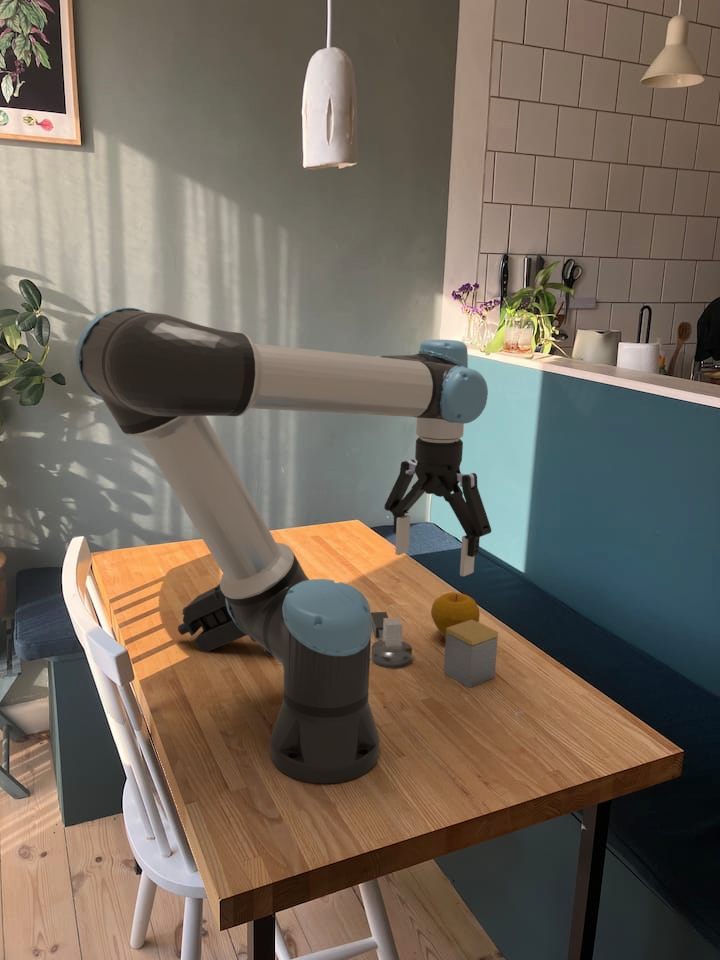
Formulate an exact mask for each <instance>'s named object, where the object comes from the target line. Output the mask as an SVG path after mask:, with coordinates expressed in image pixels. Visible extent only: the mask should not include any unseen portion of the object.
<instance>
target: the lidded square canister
mask: <svg viewBox="0 0 720 960" xmlns="http://www.w3.org/2000/svg"><path fill="white" fill-rule="evenodd" d="M498 637H499V631H497V630H495V629H493V628H490V626H486V625H484V624H482V623H480V622H476V621H474V620H469V621H466V622H463V623H460V624H456V625H453V626H450V627H447V628H446V638H445V641H444V642H445V643H444V644H445V645H444V659H443V661H444V662H443V674H444V675H446V676H448V677H449V678H451V679H454V680H455V681H457V683H460V684H462V685H464V686H465V687H467V688H468V689H469V688H473V687H475V686H477V685H480V684H482V683H484V682H487V681H490V680H492V679H495V677H496V665H497V651H498V640H499V639H498Z"/></svg>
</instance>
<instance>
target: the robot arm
mask: <svg viewBox="0 0 720 960" xmlns="http://www.w3.org/2000/svg"><path fill="white" fill-rule="evenodd" d="M468 356H469V355H468V347H467V345H466V344H465V343H464V342H463V341H460V340H454V339H427V340H426V339H425V340H422V341H421V342H420V344H419V351H418V353H416V354H408V355H407V354H404V355H403V354H402V355H401V354H399V355H379V354H376V355H374V356H373V355H362V354H356V353H355V354H354V353H345V352H338V351H337V352H335V351H327V350H326V351H325V350H320V349H319V350H317V349H310V348H298V347H291V346H282V345H272V344H264V343H263V344H262V343H256V342H255V343H254V342H253V341H252V339H251V337H250V336H249V335H247V334H245V333H243V332H242V333H241V332H234V331H228V330H222V329H217V328H213V327H209V326H205V325H201V324H198V323H195V322H192V321H188V320H185V319H182V318H178V317H176V316H172V315H169V314H165V313H157V312H147V311H146V310H143V309H139V308H135V307H121V308H116V309H112V310H107V311H105V312H103V313H101V314H99V315H98V316H96V317H94V318H93V319H92V320H91V321H89V323H88V324H86V326H85V327H84V329H83V330H82V332H81V334H80V336H79V337H78V341H77V343H76V348H75V362H76V366H77V367H76V368H77V370H78V373H79V376H80V377H81V379H82V380H83V382H84V384H85V385H86V386H87V388H88V389H89V390H90V391H91V392H93V393H94V394H96V395H97V396H98V397H100V398H101V399H102V401H103V403H104V404H105V406H106V407H107V409H108V411H109V412H110V414H111V415H112V417H113V418H114V421H115V422H116V423H117V425H118V427H119V428H120V429H121V431H122V433H123V434H124V435H125V436H127V437H132V438H137V439H141V440H142V442H143V444H144V445H145V447H146V449H147V450H148V452H149V453H150V455H151V457H152V458H153V460H154V462H155V463H156V465H157V467H158V469H159V470H160V472H161V473H162V475H163V477H164V478H165V480H166V481H167V483H168V485H169V486H170V489H171V490H172V492H173V493H174V495H175V496H176V498H177V500H178V501H179V503H180V505H181V506H182V508H183V510H184V511H185V513H186V515H187V516H188V518H189V519H190V521H191V522H192V524H193V526H194V528H195V529H196V531H197V533H198V534H199V536H200V538H201V539H202V540H203V542H204V544H205V546H206V547H207V549H208V551H209V552H210V554H211V557H213V559H214V560H215V562H216V564H217V565H218V567H219V568H220V569H219V570H221V572H222V575H221V578H220V581H219V584H220V589H221V591H222V593H223V594H224V596H225V600H226V606H227V610H228V612H229V614H230V616H231V618H232V620H233V621H234V623H235V624H236V625H237V627H238V628H239V629H240V630H241V631H242V632H244V633H245V634H246V635H247V637H249V638H250V637H251V638H253V639H254V640H255V641H256V642H255V643H258V645H260V646H261V647H262V648H264V650H265V649H266V650H267V651H268V652H270V653H271V654H272V655H271V656H272V657H274V658H275V659H277V661H278V662H280V663H281V665H282V666H283V698H282V699H283V700H282V703H281V706H280V709H279V712H278V715H277V718H276V720H275V723H274V726H273V729H272V732H271V735H270V758H271V761H272V762H273V764H274V765H275V766H276V768H277V769H279V771H281V772H282V773H283V774H286V775H287V776H289V777H290V778H294V779H297V780H299V781H303V782H307V783H314V784H335V783H336V784H337V783H342V782H347V781H351V780H353V779H356V778H359V777H361V776H363V775H364V774H365V775H366V773H368V772H369V771H370V770H371V769H373V767H374V766H375V765H376V763H377V761H379V757H380V735H379V730H378V728H377V723H376V722H375V719H374V715H373V712H372V709H371V705H370V702H369V689H370V687H369V686H370V667H371V666H370V664H371V646H372V645H371V643H372V642H371V641H372V640H371V639H372V634H373V629H372V623H371V612H372V611H371V606H370V604H369V601H368V600H367V597H366V596H365V595H364V594H363V593H362V592H361V591H359V590H358V589H357V588H355V587H354V586H352V585H350V584H347V583H345V582H342V581H339V582H336V581H334V580H333V579H325V578H316V579H314V578H313V579H310V578H309V577H308V576H307V575H306V573H305V571H304V570H303V568H302V565H301V563H300V562H299V560H298V559H297V557H296V555H295V553H294V551H293V549H292V548H291V546H289V545H287V544H285V543H282V542H276V539H274V537H273V535H272V533H271V531H270V529H269V527H268V525H267V524H266V522H265V520H264V518H263V517H262V515H261V514H260V513H261V512H259V510H258V507H257V505H256V504H255V502H254V500H253V498H252V497H251V495H250V494H249V493H250V492H249V491H248V490H247V488H246V485H245V484H244V482H243V481H242V479H241V477H240V475H239V473H238V472H237V470H236V468H235V466H234V464H233V462H232V461H231V459H230V457H229V455H228V453H227V451H226V450H225V448H224V447H223V444H222V442H221V441H220V439H219V437H218V435H217V434H216V432H215V430H214V428H213V426H212V425H211V424H212V423H210V421H209V419H208V418H207V416H209V417H212V416H213V417H220V416H221V417H241V416H243V415H244V414H246V412H247V411H248V410H249V409H256V410H276V411H290V412H291V411H294V412H310V413H311V412H313V413H314V412H317V413H331V414H332V413H334V414H350V415H351V414H352V415H368V416H370V415H372V416H389V417H404V418H405V417H409V418H410V417H412V418H416V426H415V427H416V428H415V434H416V436H418V437H417V439H415V452H414V454H415V455H414V457H415V459H408V460H405V461H402V462H401V463H400V468H399V474H398V477H397V479H396V481H395V483H394V485H393V486H392V489H391V492H389V495H388V497H387V500H386V502H385V504H384V510H385V511H387V512H390V513H391V514H392V516H393V528H392V529H393V530H392V531H393V534H395V554H394V555H397V556H400V555H403V554H406V553H409V552H410V533H411V532H410V531H411V515H409V514H408V513H409V511H410V509H411V508H413V506H414V505H415V504H416V502H417V501H419V499H420V498H421V497H422V496H423V495H424V494H428V495H434V496H437V497H439V498H442V497H443V499H444V501H445V502H447V503H448V504H449V506H450V508H451V509H452V510H453V511H452V512H453V513H454V515H455V517H456V518H457V520H458V522H459V524H460V525H461V527H462V529H463V531H464V533H465V534H466V535H463V536H462V537H461V548H460V549H461V551H460V566H459V576H461V577H465V576H468V575H471V574H473V573H474V572H475V571H474V570H475V557H477V556H478V555H479V551H480V538H481V537H484V536H486V535H489V534H491V533H492V526H491V524H490V522H489V518H488V515H487V512H486V510H485V506H484V502H483V500H482V497H481V494H480V491H479V488H478V475H477V473H475V472H472V473H469V474H467V473H462V472H461V468H460V466H461V463H462V461H463V449H464V442H463V441H462V439H461V438H463V436H464V430H465V429H464V427H465V424H469V423H472V422H473V421H476V420H477V419H478V418H479V417H480V416H481V414H482V413H483V412H484V410H485V408H486V405H487V401H488V395H489V389H488V384H487V381H486V379H485V377H484V376H483V374H482V373H480V372H479V371H478V370H476V369H473V368H469V366H468V363H469V362H468V359H469V358H468ZM414 475H416V477H417V480H416V481H415V483H414V484H413V485H412V486H411V488H410V490H409V492H407V490H408V488H409V486H410V484H411V482H412V480H413V479H414V478H413V477H414ZM406 492H407V493H406ZM452 492H453V493H452ZM405 494H406V495H405ZM251 638H250V639H251Z"/></svg>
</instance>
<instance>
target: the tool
mask: <svg viewBox="0 0 720 960" xmlns="http://www.w3.org/2000/svg"><path fill="white" fill-rule="evenodd" d="M182 615H183V618H182V622H183V623H181V624H179V625H178V627H177V631H178V632H179V634H180V635H185V634H188V633H189V634H190V636H191V637H192V636H194V635H195V634H196V633H197V632H198V631H199V630H200V629H202V631H201V632H200V633H199V634H198V635H197V637H196V638H195V639H194V643H195V644H196V646H197V648H198V649H199V650H200V651H201V652H204V653H207V652H210V651H211V650H214V649H217V648H219V647H222V646H224V645H226V644H227V645H228V644H229V643H232V642H235V641H236V640H239V639H242V638H243V637H244V638H245V637H248V635H246V634H245V633H244V632H242V631H241V630H240V629H239V628H238V627H237V625H236V624H235V623H234V621H233V620H232V618H231V616H230V614H229V612H228V610H227V606H226V600H225V596H224V594H223V593H222V591H221V589H220V583H219V584H217V585H216V586H215V587H213V588H211V589H208V590H207V591H205V592H203V593H201V594H199V595H197V596H196V597H195V598H194V599H193V600H192V601H191V602H190V603H188V605H186V606H185V607H183V608H182ZM249 638H250V639H251V641H252V642H254V643H257V642H256V641H255V640H254V639H253V638H251V637H249ZM264 652H265V654H266V656H267V657H271V656H273V655H272V654H271V653H270V652H268V651H267V650H266V649H265V648H264Z"/></svg>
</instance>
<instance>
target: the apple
mask: <svg viewBox="0 0 720 960" xmlns="http://www.w3.org/2000/svg"><path fill="white" fill-rule="evenodd" d="M430 615H431V618H432V620H433V622H434V624H435V627H436V628H437V629H438V631H439V633H440V634H441V636H443V637H444V639H446V628H447V627H450V626H453V625H456V624H460V623H463V622H466V621H469V620H474V621H476V622H478V623H480V609H479V607H478V603H477V602H476V600H475V599H473V598H472V597H470V596H469V595H467V594H464V593H460V592H455V591H453V592H452V591H451V592H447V593H446V592H445V593H444V594H442V595H440V596H439V597H437V598H436V599H435V600H434V602H433V604H432V607H431V609H430Z"/></svg>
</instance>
